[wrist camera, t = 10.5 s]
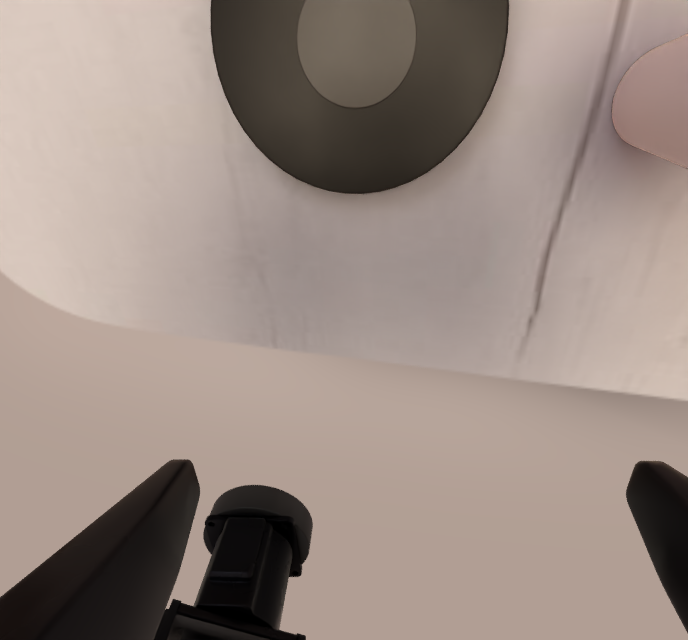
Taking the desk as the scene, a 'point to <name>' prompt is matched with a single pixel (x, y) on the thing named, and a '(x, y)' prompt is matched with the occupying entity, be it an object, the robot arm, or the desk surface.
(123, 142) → the desk surface
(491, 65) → the black coaster
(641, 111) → the smoothie
